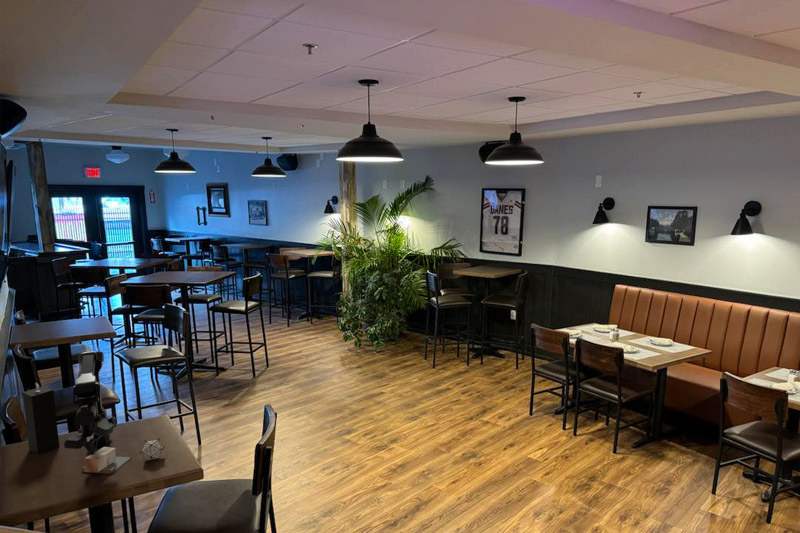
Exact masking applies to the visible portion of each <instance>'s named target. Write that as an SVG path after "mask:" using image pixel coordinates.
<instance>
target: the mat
mask: <svg viewBox="0 0 800 533" xmlns="http://www.w3.org/2000/svg"><path fill="white" fill-rule="evenodd" d="M130 460H132V457H129V456H128V457H127V456H116V461H114V462H113V463H111V464H110V465H108V466H107V467H115V472H116V471H117V470H118V469H120V468H122V467H123V466H124V465H125V464H126V463H127V462H129V461H130Z"/></svg>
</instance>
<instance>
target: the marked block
mask: <svg viewBox="0 0 800 533" xmlns="http://www.w3.org/2000/svg"><path fill="white" fill-rule="evenodd" d="M116 452H117V448H116V447H109V446H104V447H103V448H101V449H100V448H99V449H98V450H96V451H95V454H94V455H91V454H89V455H88V456H86V457H84V458H83V459H84V466H85V472H84V473H91V472H96V473H95V474H99V473H98V472H99V471H101V470H102V469H104V468H105V467H107V466H108V465H110V464H111V463H113V462H114V461H116V457H117V453H116Z"/></svg>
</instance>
